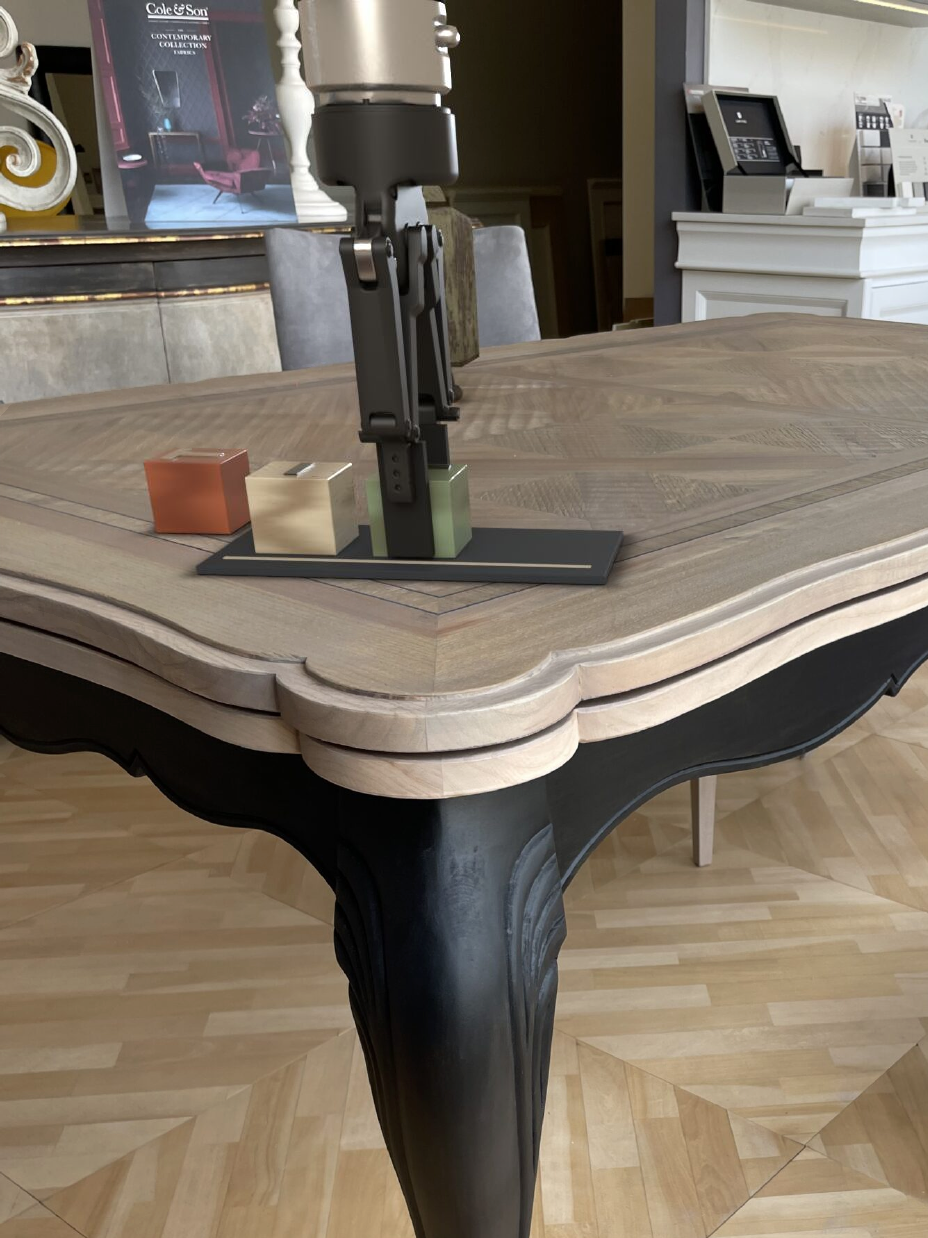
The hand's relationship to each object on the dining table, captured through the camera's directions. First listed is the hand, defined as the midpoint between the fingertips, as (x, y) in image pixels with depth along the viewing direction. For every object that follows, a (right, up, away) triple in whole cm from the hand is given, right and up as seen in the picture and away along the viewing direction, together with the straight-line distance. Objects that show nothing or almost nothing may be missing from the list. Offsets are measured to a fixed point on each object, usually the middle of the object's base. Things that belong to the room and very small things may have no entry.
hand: (422, 542), depth 80 cm
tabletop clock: (-9, +29, +55) cm, 63 cm away
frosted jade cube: (0, 0, 0) cm, 0 cm away
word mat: (0, -1, 0) cm, 1 cm away
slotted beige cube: (-7, 0, 0) cm, 7 cm away
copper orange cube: (-16, +3, +7) cm, 17 cm away
